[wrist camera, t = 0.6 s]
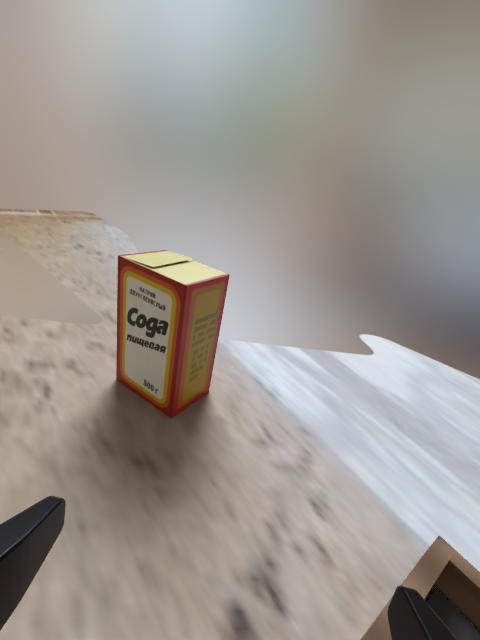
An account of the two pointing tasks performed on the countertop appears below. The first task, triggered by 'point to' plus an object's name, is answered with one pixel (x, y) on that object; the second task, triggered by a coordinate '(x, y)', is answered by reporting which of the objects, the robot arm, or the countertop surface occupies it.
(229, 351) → the countertop surface
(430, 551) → the wooden compartment box
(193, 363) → the baking soda box
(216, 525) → the countertop surface
